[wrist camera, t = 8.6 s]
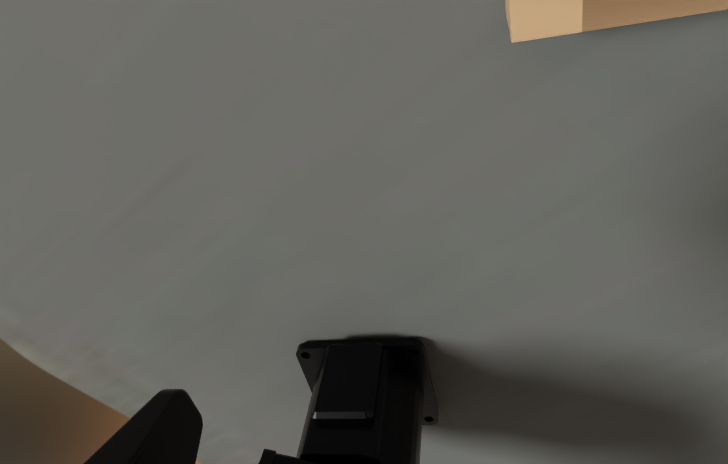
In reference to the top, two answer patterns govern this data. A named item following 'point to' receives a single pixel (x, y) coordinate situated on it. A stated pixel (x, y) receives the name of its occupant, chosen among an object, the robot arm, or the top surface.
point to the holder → (594, 14)
